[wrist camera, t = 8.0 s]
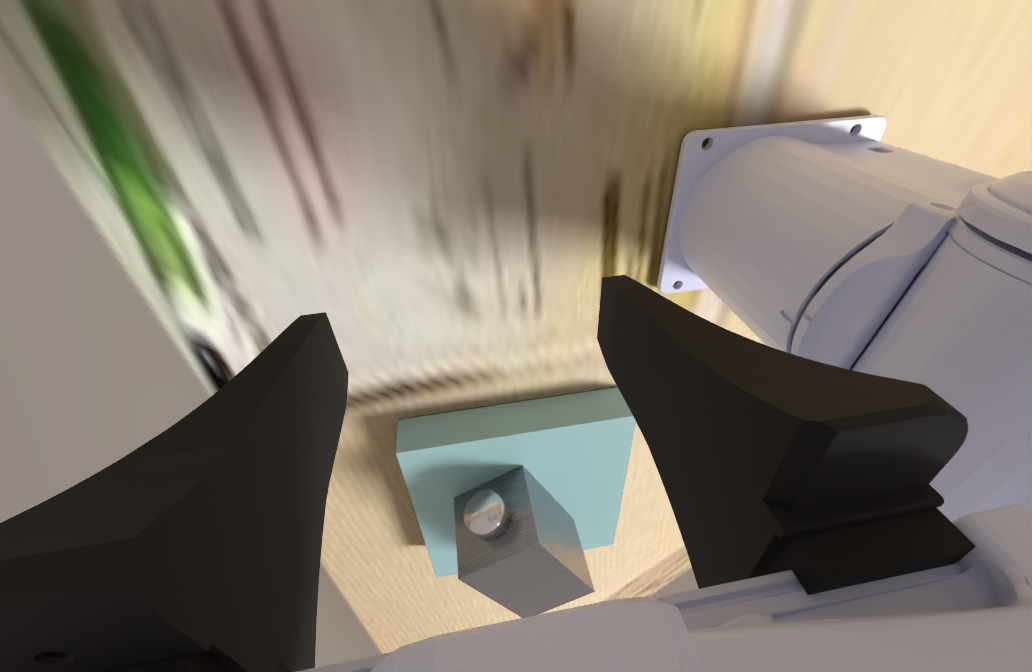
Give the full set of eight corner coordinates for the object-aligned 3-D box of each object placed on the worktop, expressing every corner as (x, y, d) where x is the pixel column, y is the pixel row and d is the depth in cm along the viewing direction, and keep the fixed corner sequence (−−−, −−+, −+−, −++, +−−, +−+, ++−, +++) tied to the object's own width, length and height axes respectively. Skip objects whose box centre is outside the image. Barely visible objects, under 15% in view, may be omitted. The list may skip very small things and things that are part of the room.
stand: (622, 386, 28) (636, 415, 26) (603, 515, 37) (613, 544, 35) (397, 419, 27) (395, 453, 25) (435, 545, 36) (436, 577, 34)
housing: (573, 518, 32) (594, 591, 28) (513, 545, 33) (525, 619, 29) (513, 455, 26) (529, 534, 22) (442, 489, 27) (445, 571, 23)
